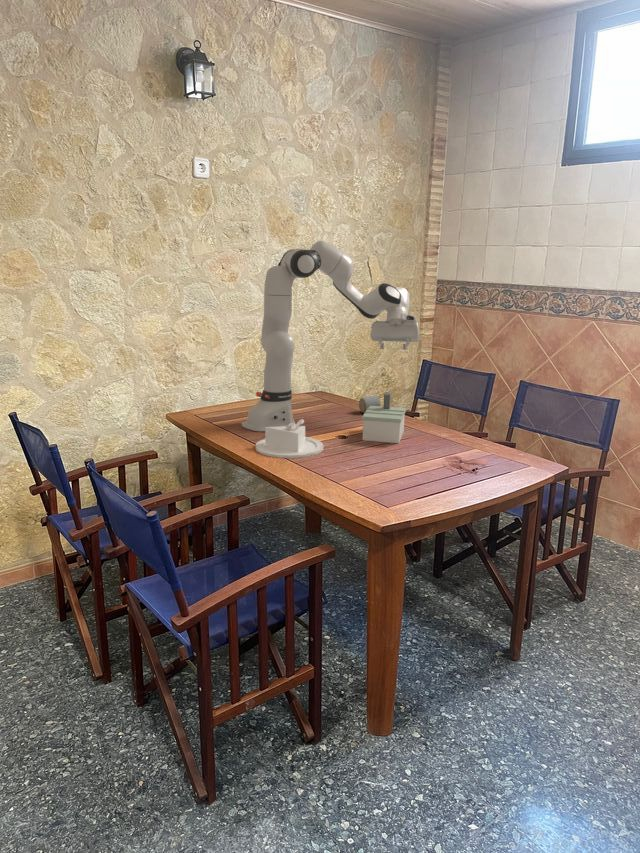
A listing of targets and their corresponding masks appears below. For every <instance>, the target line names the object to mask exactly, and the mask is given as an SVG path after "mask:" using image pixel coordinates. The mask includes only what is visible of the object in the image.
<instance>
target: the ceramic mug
mask: <svg viewBox="0 0 640 853" xmlns="http://www.w3.org/2000/svg"><path fill="white" fill-rule="evenodd" d="M369 406H382V404H381V399H380V398H379V395H370V396H364V397H361V398H360V399H359V400H358V408H359V411H360V412H361V413H363V414H364V413H365V411H367V408H369Z"/></svg>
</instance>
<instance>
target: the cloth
mask: <svg viewBox="0 0 640 853" xmlns="http://www.w3.org/2000/svg"><path fill="white" fill-rule="evenodd" d="M462 458H464V457H462V456H460V455H449V456H445V457H444V458H441V459H440V460H441V462H442V463H443V464H444V465H443V464H442V463H441V462H440V463H441V464H442V465H443V467H445V468H446V467H448V468H449V469H451V470H450V471H452V470H453V469H452V467H453V468H456V469H459V470H461V469H463V470H465V471H468V472H470V473H469V474H472V472H471V471H472V470H473V469H476V470H477V469H478V471H474V470H473V472H474V473H478V472H479V468H478V466H475V465H487V464H488V461H486V460H485V459H484V460H483V459H464V460H463V459H462ZM443 459H444V460H445V461H442V460H443ZM462 460H463V461H462ZM444 462H448V464H445V463H444ZM449 462H451V463H449ZM459 463H464V464H459ZM465 464H473V465H465ZM474 464H475V465H474ZM448 468H447V469H448ZM449 469H448V470H449ZM454 471H456V470H454ZM456 472H459V473H461V474H463V473H462V472H460V471H456ZM456 472H455V473H456ZM474 473H473V474H474Z"/></svg>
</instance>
